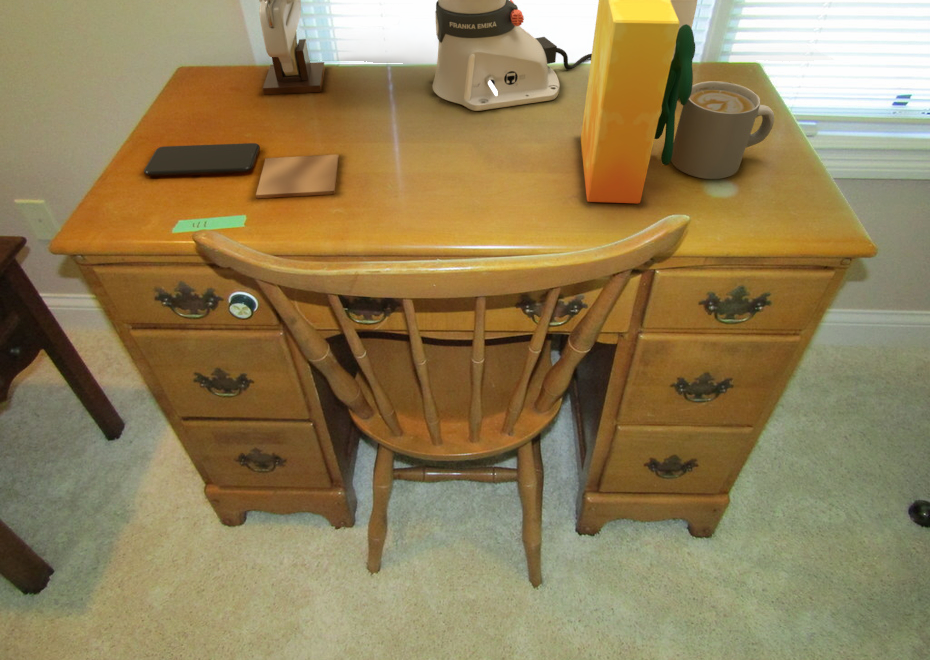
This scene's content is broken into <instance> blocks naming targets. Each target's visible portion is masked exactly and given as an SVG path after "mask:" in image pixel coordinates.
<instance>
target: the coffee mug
mask: <svg viewBox="0 0 930 660" xmlns="http://www.w3.org/2000/svg"><path fill="white" fill-rule="evenodd" d="M761 101H762V100H761V98H760V96H759V95H758V94H757V93H756V92H754V90H751V89H750V88H748V87H746V86H743V85H740V84H738V83H733V82H728V81H718V80H716V81H715V80H709V81H701V82H697V83H695V84H693V85H692V92H691V95H690V97H689V99H688V101H687V103H686V104H685V105H682V107H681V111H680V115H679V119H678V124H677V127H676V133H675V134H674V144H673V154H672V158H671V161H670V163H671V164H672V165H673V166H674V167H675V168H676V169H677V170H678V171H680V172H681V173H684V174H686V175H688V176H691V177H696V178H697V179H698V178H699V179H705V180H720V179H726V178H729V177H731V176H733V175H735V174H736V173H737V172H738V171H739V169H740V167H741V163H742V160H743V158H744V154H745V152H746V148H749V147H752V146H756V145H757V144H760V143H761V142H763V141H765V140H766V138H767V137H768V136H769V135H770V132H771V131H772V129H773V125H774V122H775V113H774V111H773V110H772V108H770V106H768V105H765V104H761ZM760 116H761V118H762V119H761V124H760V126H759V127H758V129H757V130H756V131H755V132H753V133H752V130H753V127H754V124H755V121H756V119H757V118H758V117H760Z"/></svg>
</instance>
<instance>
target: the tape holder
mask: <svg viewBox="0 0 930 660" xmlns="http://www.w3.org/2000/svg"><path fill="white" fill-rule="evenodd" d="M297 44H298V46H297V50H296V53H297V58H298V63H299V68H300V73H301V75H295V76H286V75H285V73H284V71H283V69H282V64H281V62H280V60H279V58H278V57H271V60H272V64H270V65H269V67H268V68H269V69H268V71H267V74H266V77H265V80H264V82H263V87H262V91H263V94H264V96H265V95H283V94H285V95H286V94H305V93H307V94H308V93H321V92H322V89H323V83H324V77H325V71H326V65H325V62H323V61H319V62H318V61H317V62H311V60H310V55H309V49H308V44H307V39H306V38H302V39H301V38H300V39H298V41H297Z"/></svg>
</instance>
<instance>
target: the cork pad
mask: <svg viewBox="0 0 930 660" xmlns="http://www.w3.org/2000/svg"><path fill="white" fill-rule="evenodd" d="M339 158H340V156H339V153H337V154H335V153H334V154H320V155H319V154H318V155H302V156H282V157H279V156H278V157H265V160H264V162H263V167H262V170H261V174H260V177H259V181H258V185H257V189H256V192H255V197H256V199H270V198H288V197H290V198H291V197H305V196H325V195H326V196H327V195H335V194H336V188H337V187H336V186H337V180H338V179H337V178H338V169H339V161H340V159H339Z"/></svg>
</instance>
